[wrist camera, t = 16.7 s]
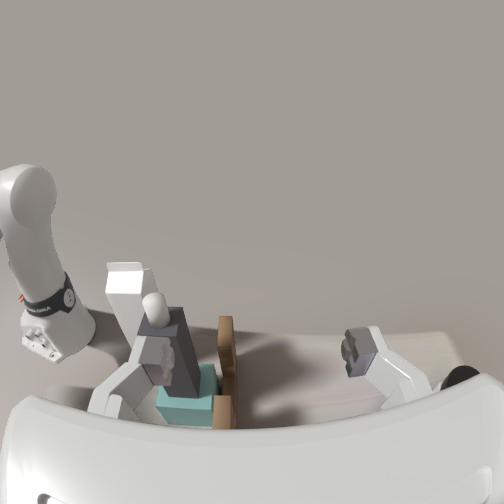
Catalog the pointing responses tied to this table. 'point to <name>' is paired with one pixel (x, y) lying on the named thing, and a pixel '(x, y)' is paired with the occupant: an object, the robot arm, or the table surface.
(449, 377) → the jar
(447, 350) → the table surface
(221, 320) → the brown notched panel
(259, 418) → the table surface
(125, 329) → the milk
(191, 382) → the grey capped bottle
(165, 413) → the teal block
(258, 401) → the table surface
